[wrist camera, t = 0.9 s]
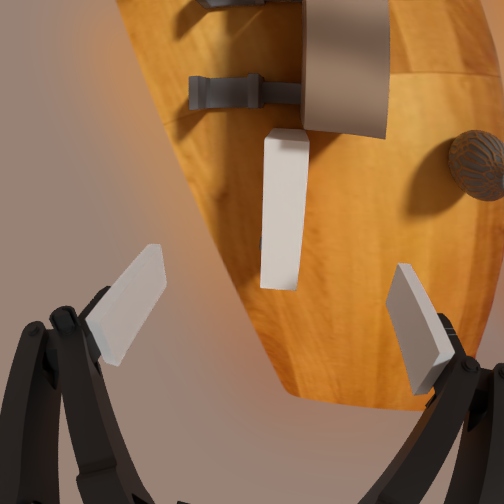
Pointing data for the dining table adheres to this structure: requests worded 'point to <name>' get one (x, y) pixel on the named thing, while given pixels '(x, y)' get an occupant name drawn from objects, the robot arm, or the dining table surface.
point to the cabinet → (320, 70)
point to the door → (283, 206)
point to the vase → (478, 164)
